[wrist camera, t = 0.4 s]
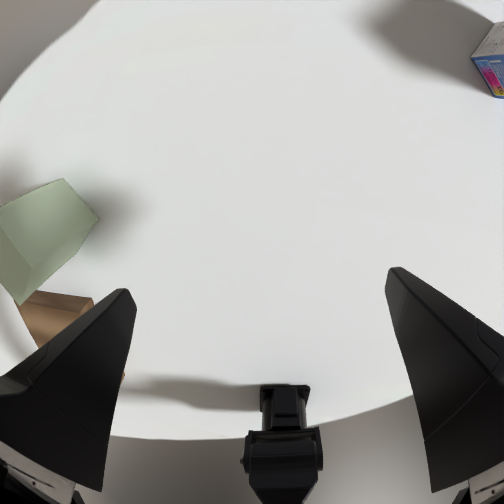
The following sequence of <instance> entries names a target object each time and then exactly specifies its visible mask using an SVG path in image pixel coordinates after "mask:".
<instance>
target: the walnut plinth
mask: <svg viewBox="0 0 504 504" xmlns="http://www.w3.org/2000/svg"><path fill="white" fill-rule="evenodd" d="M14 302H15V304H16V306H17V308H18V310H19V312H20V315H21V317H22V319H23V321H24V323H25V324H26V326H27V328H28V330H29V332H30V334H31V336H32V337H33V339H34V341H35V343H36V344H37V346H38V348H40V347H42V346H43V345H44V344H45V343H47V342H48V341H50V340H51V339H52V338H53V337H54V336H55V335H57V334H58V333H59V332H61V331H62V330H63V329H64V328H66V327H67V326H68V325H69V324H71V323H72V322H73V321H75V320H76V319H77V318H79V317H80V316H81V315H82V314H84V313H85V312H86V311H88V310H89V309H90V308H92V307H93V306H94V303H93V300H92V298H86V297H78V296H71V295H64V294H57V293H50V292H44V291H37V290H36V291H34V292H33V293H32V294H31V295H30V296H29V297H28V298H27V299H26V300H25V301H24V302H23V303H22V304H21V305H20V306H19V305H18V304H17V302H16V301H15V300H14ZM124 376H125V373H124V372H123V376H122V380H123V378H124ZM122 380H121V382H122ZM120 385H121V384H120Z"/></svg>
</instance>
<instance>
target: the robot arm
mask: <svg viewBox="0 0 504 504" xmlns="http://www.w3.org/2000/svg"><path fill="white" fill-rule="evenodd" d="M385 295H386V299H387V302H388V306H389V310H390V315H391V319H392V323H393V327H394V331H395V335H396V338H397V341H398V344H399V347H400V350H401V353H402V356H403V359H404V363H405V366H406V369H407V373H408V376H409V380H410V383H411V387H412V391H413V394H414V398H415V402H416V406H417V410H418V415H419V419H420V423H421V428H422V433H423V438H424V444H425V449H426V455H427V462H428V468H429V475H430V483H431V491H432V493H435V492H437V491H440V490H443V489H446V488H448V487H451V486H453V485H456V484H458V483H461V482H463V481H465V480H468V484H469V486H468V487H466V488H464V489H462V490H460V491H459V493H458V495H457V496H456V498H455V500H454V501H453V503H452V504H504V336H502V335H501V334H499V333H498V332H496V331H495V330H493V329H492V328H491V327H489V326H488V325H486V324H485V323H484V322H482V321H481V320H480V319H478V318H476V317H475V316H474V315H473V314H471V313H470V312H468V311H467V310H466V309H464V308H463V307H461V306H460V305H458V304H457V303H456V302H454V301H453V300H451V299H450V298H448V297H447V296H445V295H444V294H442V293H441V292H439V291H438V290H436V289H435V288H433V287H432V286H430V285H429V284H427V283H426V282H424V281H423V280H421V279H420V278H418V277H416V276H415V275H413V274H412V273H410V272H409V271H407V270H405V269H404V268H402V267H393V268H390V269H389V271H388V275H387V280H386V285H385ZM136 313H137V307H136V304H135V302H134V300H133V298H132V296H131V294H130V292H129V290H128V289H126V288H120V289H116V290H115V291H113V292H112V293H111V294H109V295H108V296H106V297H105V298H104V299H102V300H101V301H100V302H98V303H97V304H96V305H94V306H93V307H92V308H90V309H89V310H88V311H86V312H85V313H84V314H82V315H81V316H80V317H79V318H77V319H76V320H75V321H73V322H72V323H71V324H69V325H68V326H67V327H66V328H64V329H63V330H62V331H61V332H59V333H58V334H57V335H55V336H54V337H53V338H52V339H51V340H50V341H48V342H47V343H45V344H44V345H43V346H42V347H40V348H39V349H38V350H37V351H35V352H34V353H33V354H32V355H30V356H29V357H27V358H26V359H25V360H23V361H22V362H21V363H19V364H18V365H17V366H15V367H14V368H13V369H11V370H10V371H8V372H7V373H6V374H4V375H2V376H0V504H85V503H84V501H83V499H82V498H81V496H80V493H79V492H78V491H76V490H74V489H75V485H76V483H78V484H80V485H83V486H85V487H88V488H90V489H93V490H96V491H98V492H102V487H103V478H104V470H105V462H106V455H107V449H108V442H109V436H110V431H111V426H112V420H113V415H114V411H115V406H116V401H117V397H118V392H119V388H120V384H121V380H122V376H123V372H124V368H125V364H126V360H127V356H128V353H129V349H130V344H131V339H132V334H133V328H134V323H135V318H136ZM309 393H310V387H309V386H262V387H261V388H260V412H263V413H262V431H253V430H249V433H248V435H247V436H246V437H245V447H244V450H243V453H242V456H241V459H240V463H241V464H242V465H243V466H244V469H245V473H246V474H247V475H248V474H249V484H250V486H251V487H252V489H253V490H254V492H255V493H256V495H257V496H258V498H259V499H260V501H261V502H262V504H304V502H305V501H306V499H307V498H308V496H309V495H310V493H311V491H312V490H313V488H314V487H315V485H316V483H317V481H318V471H322V470H323V451H322V444H321V438H320V431H319V427H314V428H307V422H306V409H305V408H306V405H307V401H308V397H309Z"/></svg>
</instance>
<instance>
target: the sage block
mask: <svg viewBox="0 0 504 504" xmlns="http://www.w3.org/2000/svg"><path fill="white" fill-rule="evenodd" d="M98 219H99V218H98V217H97V215H96V214H95V213H94V212H93V211H92V210H91V209H90V208H89V207H88V206H87V204H86V203H85V202H84V201H83V200H82V199H81V198H80V197H79V195H78V194H77V193H76V192H75V191H74V190H73V189H72V187H71V186H70V185H69V184H68V183H67V182H66V180H65V179H64V178H62V179H59V180H57V181H54V182H52V183H50V184H47V185H45V186H43V187H40V188H38V189H36V190H33V191H31V192H29V193H27V194H25V195H23V196H20V197H18V198H16V199H14V200H12V201H10V202H8V203H6V204H4V205H2V206H0V283H1V284H2V285H3V287H4V288H5V289H6V290H7V292H8V293H9V294H10V295H11V296H12V298H13V299H14V300H15V301H16V302H17V304H18V305H19V306H20V305H21V304H22V303H23V302H24V301H25V300H26V299H27V298H28V297H29V296H30V295H31V294H32V293H33V292H34V291H36V290H37V289H38V288H39V287H40V286H41V285H42V284H43V283H44V282H45V281H46V280H47V279H48V278H49V277H50V276H52V275H53V274H54V273H55V272H56V271H57V270H58V269H59V268H60V267H62V266H63V265H64V264H65V263H66V262H67V261H68V260H70V259H71V258H72V257H73V256H74V255H75V254H76V253H77V252H78V250H79V248H80V247H81V245H82V243H83V242H84V240H85V239H86V237H87V236H88V234H89V233H90V231H91V229H92V228H93V226H94V225H95V223H96V222H97V221H98Z"/></svg>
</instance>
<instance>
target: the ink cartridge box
mask: <svg viewBox="0 0 504 504" xmlns="http://www.w3.org/2000/svg"><path fill="white" fill-rule="evenodd" d="M471 58H472V60H473V61H474V63H475V64H476V66H477V67H478V69H479V71H480V72H481V74H482V76H483V77H484V79H485V81H486V82H487V84H488V86H489V88H490V89H491V91H492V93H493V95H494V97H495V98H500V99H504V21H503V22H498V23H495V24H494V25H493V27H492V28H491V30H490V31H489V33H488V34H487V35H486V37H485V38H484V40H483V41H482V42H481V44H480V45H479V47H478V48H477V49H476V51H475V52H474V53H473V55H472V56H471Z"/></svg>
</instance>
